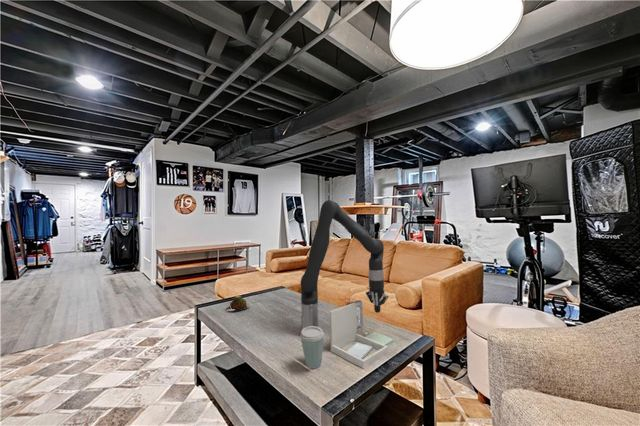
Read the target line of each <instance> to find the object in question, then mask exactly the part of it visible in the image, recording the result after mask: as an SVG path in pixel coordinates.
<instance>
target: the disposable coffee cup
mask: <svg viewBox="0 0 640 426" xmlns="http://www.w3.org/2000/svg"><path fill="white" fill-rule="evenodd" d="M324 337H325V332H324V331H323V329H322V328H321V327H320V326H319V327H316V326H309V327H305V328H304V329H302V328H301V331H300V334H299V338H300V339H301V346H302V351H303V357H304V361H305V364H306V367H307V368H309V369H313V370H314V369H318V368H319V367H321V365H322V360H323V359H322V358H323V351H324V350H323V348H324V339H325V338H324Z"/></svg>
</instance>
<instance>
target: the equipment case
mask: <svg viewBox="0 0 640 426" xmlns="http://www.w3.org/2000/svg"><path fill="white" fill-rule="evenodd" d="M353 302H354V301H353ZM356 317H357V319H358V322H359V324H360V327H359V328H360V329H361V332H362V334H363V335H362V334H358V332H357V330H358V328H357V323H356ZM329 334H330V335H329V337H330V341H329V342H330V352H331V353H332V354H336V355H337V356H339V357H341V358H343V359H345V360H347V361H348V362H350V363H352V364H354V365H356V366H357V367H360V368H362V369H366V368H367V367H369V366H370V365H372V364H374V363H375V362H376V361H378V360H380V359H381V358H383V357H385V356H386V355H387V354H389V345H388V346H385V345H383V344H381V343H378V342H376V341H373V340H371V339H368V338H366V337H365V336H367V335H366V333H365V330H364V327H363V326H362V325H361V323H360V320H359V318H358V316H356V303H355V302H354V303H352V304H349V305H346V304H345V305H343V306H342V307H341V306H340V307H337V308H336V309H332V310H329ZM355 341H357V342H358V343H361V344H365V345H368V346H371V347H372V349H375V350H376V351H375V352H373V353H372V354H370V355H367V357H364V358H363V359H361V358H359V357H357V356H355V355H353V354H351V353H349V352H347V351H348V350H347V351H346V350H344V349H342V348H343V347H345V346H347V345H349V344H351V343H353V342H355Z"/></svg>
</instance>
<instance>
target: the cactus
mask: <svg viewBox="0 0 640 426" xmlns="http://www.w3.org/2000/svg"><path fill="white" fill-rule="evenodd" d="M247 305H248V304H247V300H246V299H245V298H242V295H241V294H240V295H235V296H234V298H233V299H232V300H231V302H230V303H229V307H230V306H231V308H232V309H235V310H236V311H235V312H239V311H243V310H246V309H248V308H247V307H248V306H247ZM237 310H238V311H237Z"/></svg>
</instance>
